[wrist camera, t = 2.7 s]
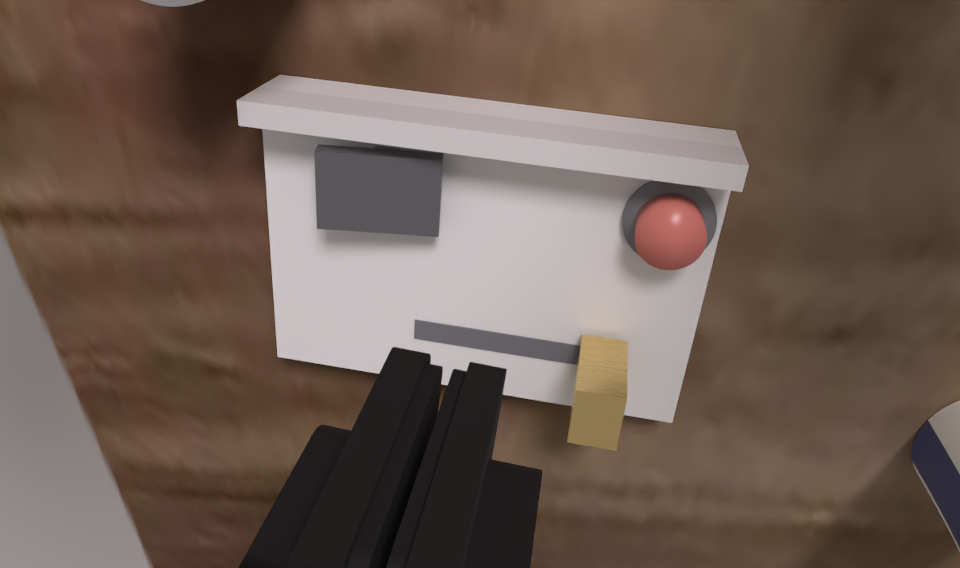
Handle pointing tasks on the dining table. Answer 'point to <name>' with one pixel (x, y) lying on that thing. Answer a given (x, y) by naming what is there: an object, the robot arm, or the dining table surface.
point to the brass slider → (599, 392)
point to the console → (491, 237)
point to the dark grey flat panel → (378, 190)
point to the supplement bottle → (172, 2)
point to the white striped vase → (941, 464)
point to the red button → (670, 232)
